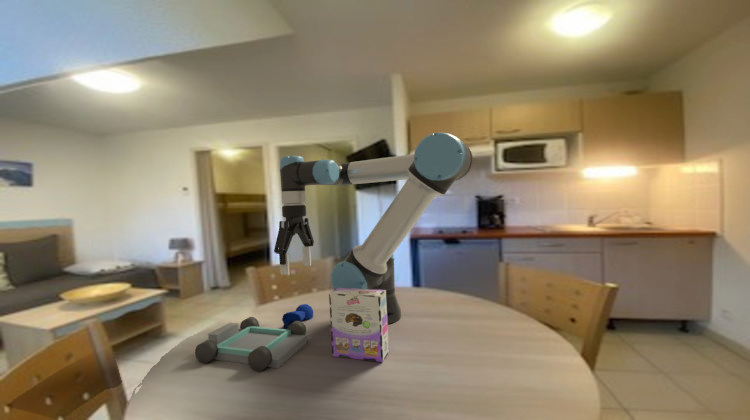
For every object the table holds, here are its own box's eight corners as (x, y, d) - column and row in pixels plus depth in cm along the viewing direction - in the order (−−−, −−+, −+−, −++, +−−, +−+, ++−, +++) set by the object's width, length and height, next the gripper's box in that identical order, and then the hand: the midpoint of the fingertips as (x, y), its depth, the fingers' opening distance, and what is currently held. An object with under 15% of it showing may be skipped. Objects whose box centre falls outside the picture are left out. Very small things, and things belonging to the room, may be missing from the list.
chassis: (311, 339, 93) (310, 321, 93) (271, 373, 75) (270, 352, 75) (241, 331, 100) (241, 315, 100) (190, 361, 83) (189, 342, 82)
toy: (300, 335, 98) (317, 315, 113) (298, 315, 98) (316, 297, 112) (279, 334, 99) (298, 314, 114) (277, 314, 99) (297, 297, 114)
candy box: (389, 352, 84) (387, 289, 83) (382, 363, 78) (380, 295, 77) (340, 346, 88) (338, 286, 87) (331, 356, 82) (328, 292, 82)
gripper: (303, 203, 118) (305, 261, 119) (259, 206, 94) (262, 278, 95) (321, 203, 116) (324, 262, 117) (281, 205, 92) (285, 279, 93)
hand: (296, 269), depth 106 cm, fingers open, 13 cm apart
